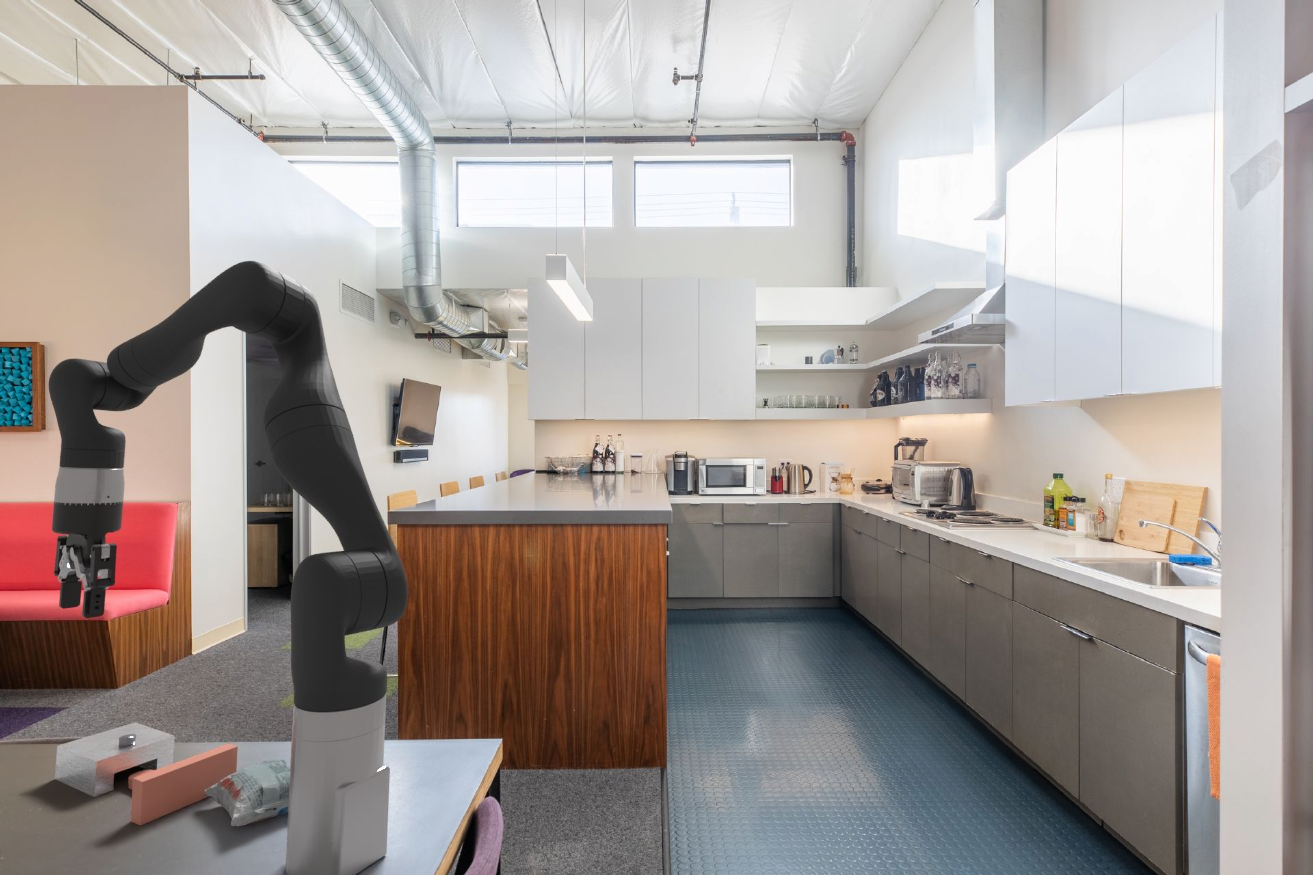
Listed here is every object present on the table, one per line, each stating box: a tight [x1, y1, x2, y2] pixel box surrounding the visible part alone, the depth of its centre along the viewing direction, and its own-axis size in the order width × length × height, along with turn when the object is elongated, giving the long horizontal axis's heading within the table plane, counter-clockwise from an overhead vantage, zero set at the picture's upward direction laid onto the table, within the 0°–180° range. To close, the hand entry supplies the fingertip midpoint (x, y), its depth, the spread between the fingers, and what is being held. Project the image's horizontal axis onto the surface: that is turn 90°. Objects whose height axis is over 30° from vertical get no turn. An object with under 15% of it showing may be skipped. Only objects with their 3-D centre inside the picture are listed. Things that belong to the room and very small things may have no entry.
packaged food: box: [204, 759, 290, 827], centre depth 79 cm, size 9×12×5 cm
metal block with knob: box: [54, 722, 176, 797], centre depth 88 cm, size 10×9×6 cm
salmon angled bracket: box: [127, 743, 239, 826], centre depth 83 cm, size 12×11×5 cm
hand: (80, 612), depth 92 cm, fingers open, 8 cm apart
